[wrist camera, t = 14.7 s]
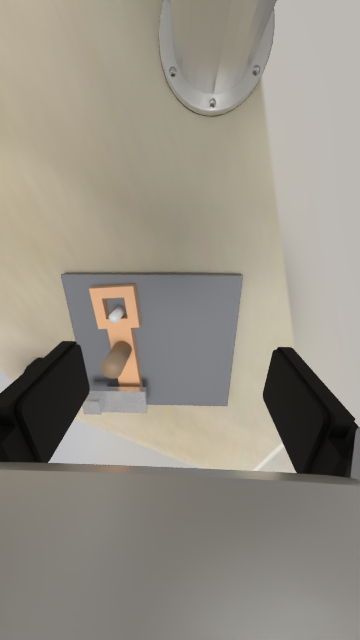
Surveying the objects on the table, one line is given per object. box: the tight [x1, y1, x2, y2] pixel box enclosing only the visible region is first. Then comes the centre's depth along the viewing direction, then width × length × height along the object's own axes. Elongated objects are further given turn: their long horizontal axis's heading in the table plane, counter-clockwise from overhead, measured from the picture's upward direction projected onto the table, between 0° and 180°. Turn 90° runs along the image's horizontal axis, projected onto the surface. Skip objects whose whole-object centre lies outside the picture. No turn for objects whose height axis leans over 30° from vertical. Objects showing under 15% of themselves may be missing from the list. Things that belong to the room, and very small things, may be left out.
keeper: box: [82, 381, 148, 414], centre depth 39 cm, size 5×11×7 cm, turn 90°
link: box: [89, 284, 143, 387], centre depth 34 cm, size 22×7×8 cm, turn 3°
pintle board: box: [61, 273, 243, 406], centre depth 36 cm, size 27×29×5 cm
